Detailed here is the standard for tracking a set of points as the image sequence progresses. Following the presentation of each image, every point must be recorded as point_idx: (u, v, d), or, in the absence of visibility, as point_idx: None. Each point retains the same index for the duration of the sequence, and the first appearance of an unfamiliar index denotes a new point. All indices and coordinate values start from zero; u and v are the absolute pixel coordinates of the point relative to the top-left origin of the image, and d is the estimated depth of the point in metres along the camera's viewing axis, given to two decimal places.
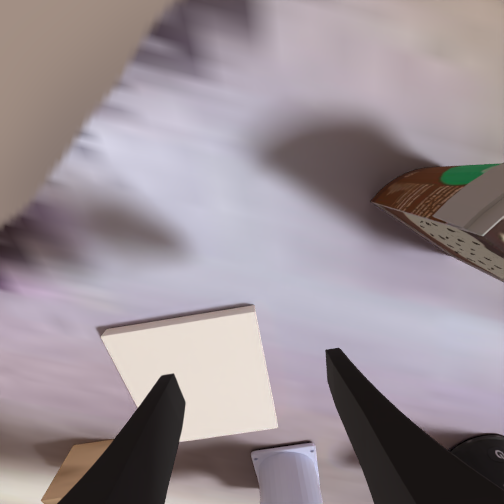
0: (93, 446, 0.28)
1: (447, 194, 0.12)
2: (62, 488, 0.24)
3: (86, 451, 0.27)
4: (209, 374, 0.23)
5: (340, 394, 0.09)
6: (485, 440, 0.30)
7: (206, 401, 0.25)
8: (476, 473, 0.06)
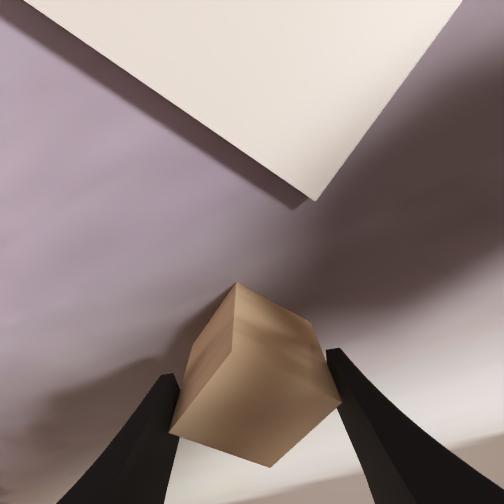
0: (214, 316, 0.13)
1: None
2: (191, 390, 0.10)
3: (208, 328, 0.13)
4: None
5: (340, 394, 0.09)
6: None
7: None
8: (477, 473, 0.06)
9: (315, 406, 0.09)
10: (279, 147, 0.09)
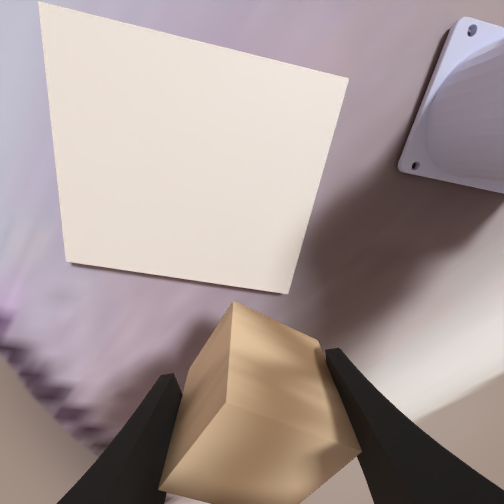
0: (210, 341, 0.11)
1: None
2: (183, 439, 0.08)
3: (204, 356, 0.11)
4: (168, 152, 0.14)
5: (340, 394, 0.09)
6: None
7: (225, 183, 0.15)
8: (476, 474, 0.06)
9: (330, 456, 0.08)
10: (258, 279, 0.18)
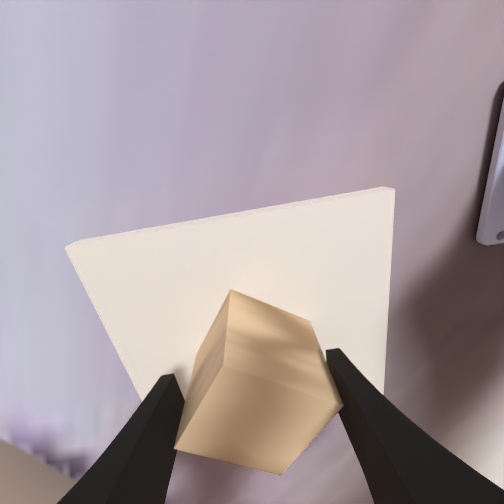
0: (213, 326, 0.13)
1: None
2: (192, 404, 0.10)
3: (207, 339, 0.13)
4: None
5: (340, 394, 0.09)
6: None
7: None
8: (477, 473, 0.06)
9: (317, 411, 0.09)
10: None
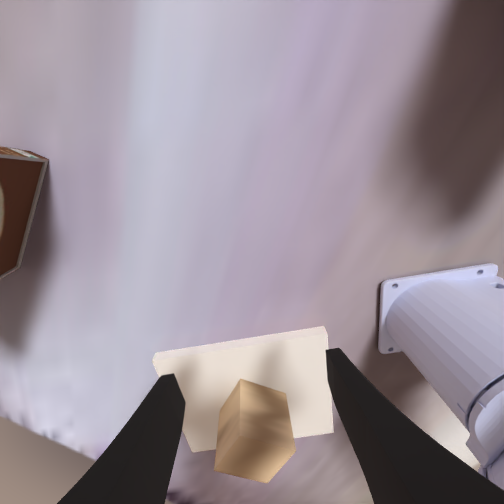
0: (230, 398, 0.23)
1: None
2: (222, 449, 0.20)
3: (227, 406, 0.23)
4: None
5: (340, 394, 0.09)
6: None
7: None
8: (477, 473, 0.06)
9: (283, 453, 0.19)
10: (310, 430, 0.26)
